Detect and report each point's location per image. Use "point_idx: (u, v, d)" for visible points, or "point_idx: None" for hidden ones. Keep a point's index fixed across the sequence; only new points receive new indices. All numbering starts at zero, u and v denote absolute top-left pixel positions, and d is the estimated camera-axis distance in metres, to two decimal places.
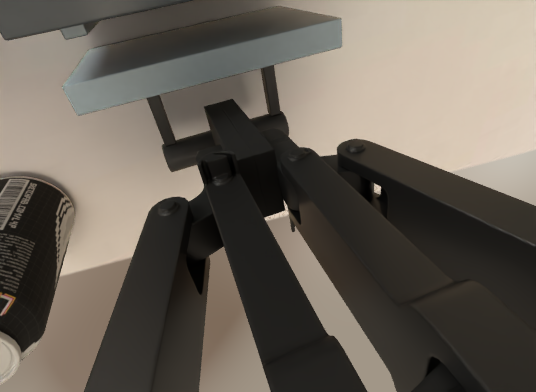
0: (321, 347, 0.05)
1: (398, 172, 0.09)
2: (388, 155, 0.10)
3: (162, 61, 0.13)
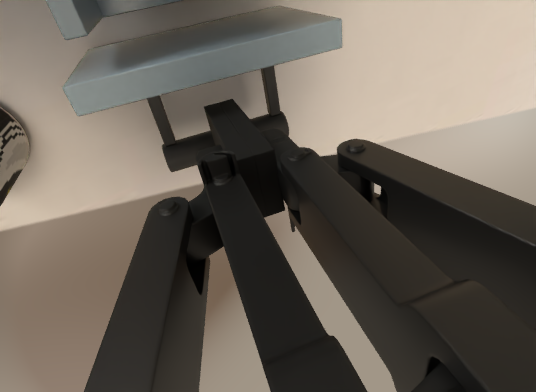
0: (321, 347, 0.05)
1: (398, 172, 0.09)
2: (388, 155, 0.10)
3: (162, 62, 0.13)
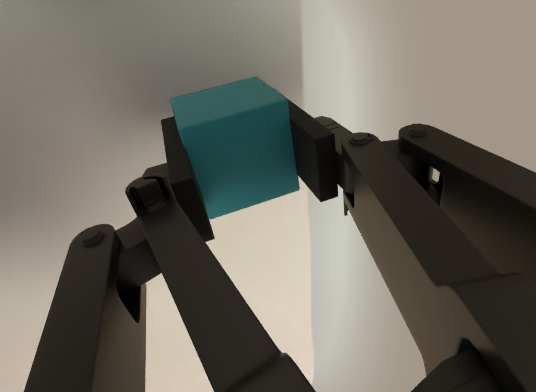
0: (275, 367, 0.05)
1: (457, 157, 0.09)
2: (450, 141, 0.10)
3: None
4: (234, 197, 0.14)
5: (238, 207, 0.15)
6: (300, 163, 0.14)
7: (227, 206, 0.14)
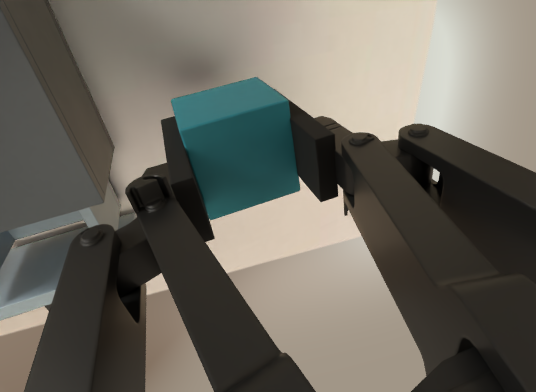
0: (275, 367, 0.05)
1: (457, 157, 0.09)
2: (450, 141, 0.10)
3: (29, 297, 0.25)
4: (235, 198, 0.14)
5: (239, 208, 0.15)
6: (300, 163, 0.14)
7: (228, 207, 0.14)
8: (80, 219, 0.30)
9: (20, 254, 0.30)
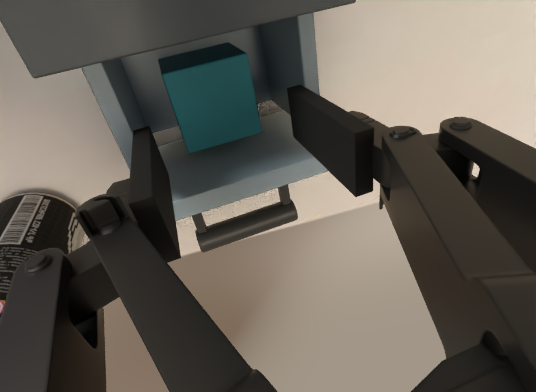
0: (246, 386, 0.05)
1: (498, 152, 0.09)
2: (494, 136, 0.10)
3: (204, 191, 0.17)
4: (186, 64, 0.17)
5: (188, 66, 0.16)
6: (331, 158, 0.14)
7: (179, 67, 0.16)
8: None
9: None
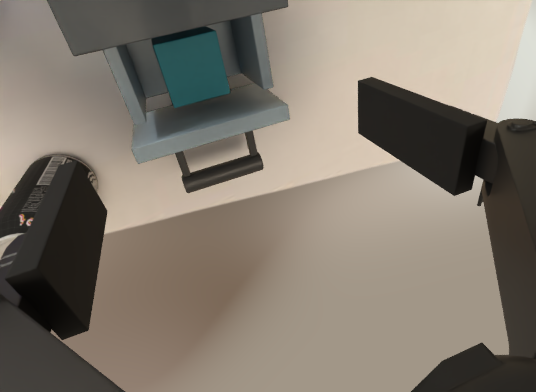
0: None
1: None
2: None
3: (185, 133, 0.23)
4: (171, 39, 0.23)
5: (172, 40, 0.22)
6: (420, 155, 0.13)
7: (165, 41, 0.22)
8: None
9: (149, 116, 0.28)
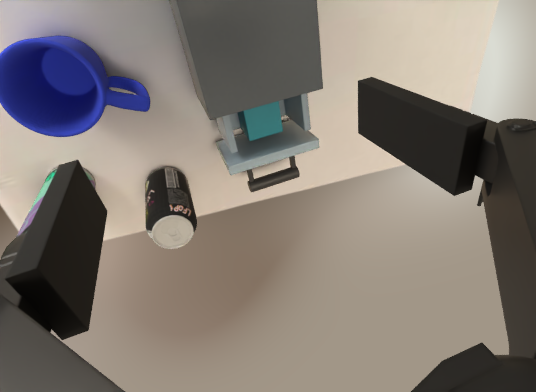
0: None
1: None
2: None
3: (258, 157, 0.39)
4: None
5: None
6: (420, 155, 0.13)
7: None
8: None
9: (227, 143, 0.44)
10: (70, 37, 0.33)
